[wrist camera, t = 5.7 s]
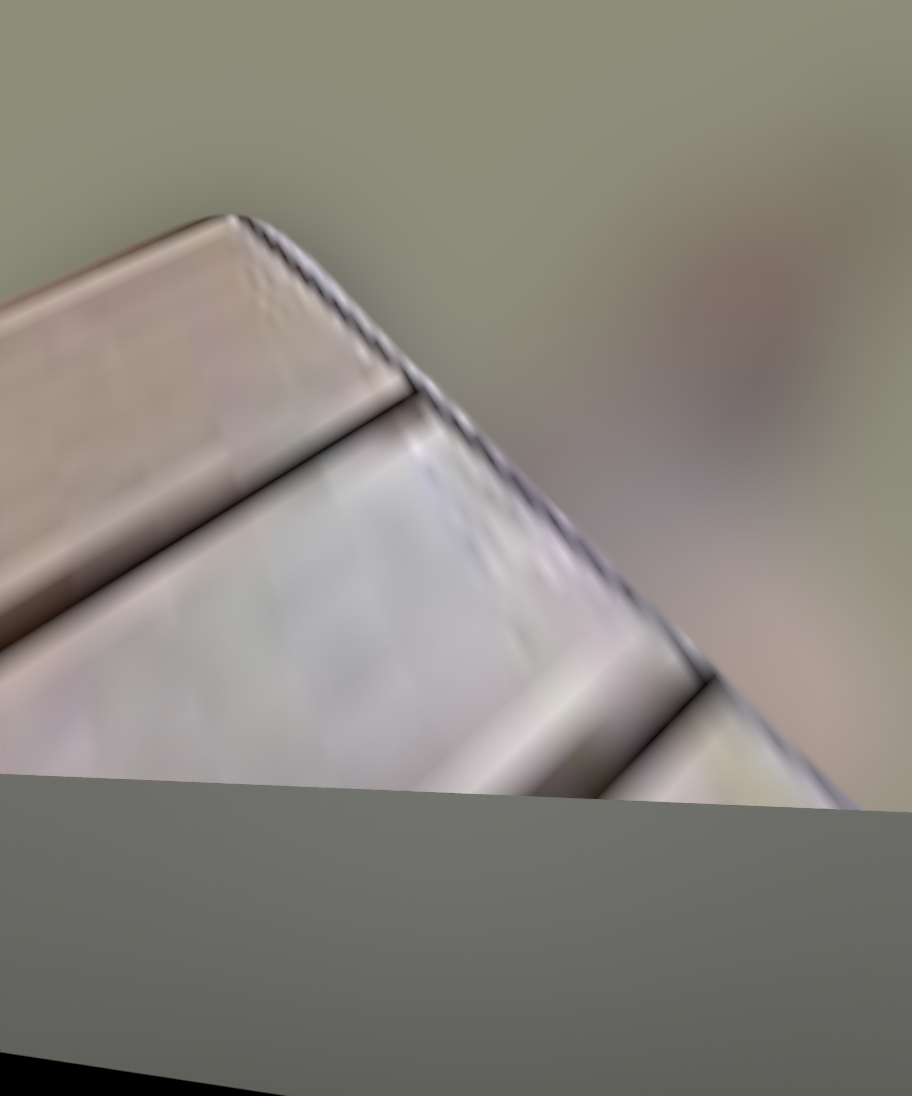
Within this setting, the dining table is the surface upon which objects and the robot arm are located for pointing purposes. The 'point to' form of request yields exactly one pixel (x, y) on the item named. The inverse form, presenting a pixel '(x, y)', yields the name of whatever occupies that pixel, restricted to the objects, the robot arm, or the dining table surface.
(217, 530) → the dining table surface
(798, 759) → the dining table surface
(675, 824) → the slate block
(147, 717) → the dining table surface
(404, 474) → the dining table surface
